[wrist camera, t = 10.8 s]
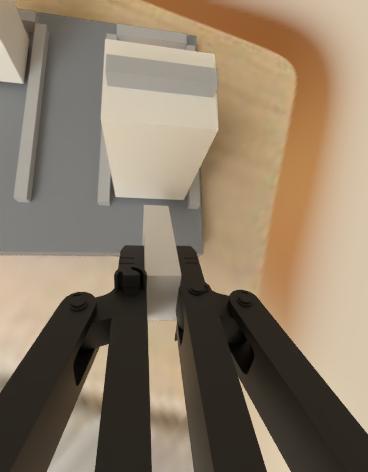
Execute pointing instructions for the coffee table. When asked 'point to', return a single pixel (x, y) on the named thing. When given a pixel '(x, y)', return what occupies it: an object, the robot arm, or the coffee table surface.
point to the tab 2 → (157, 117)
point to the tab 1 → (12, 44)
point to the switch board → (73, 147)
